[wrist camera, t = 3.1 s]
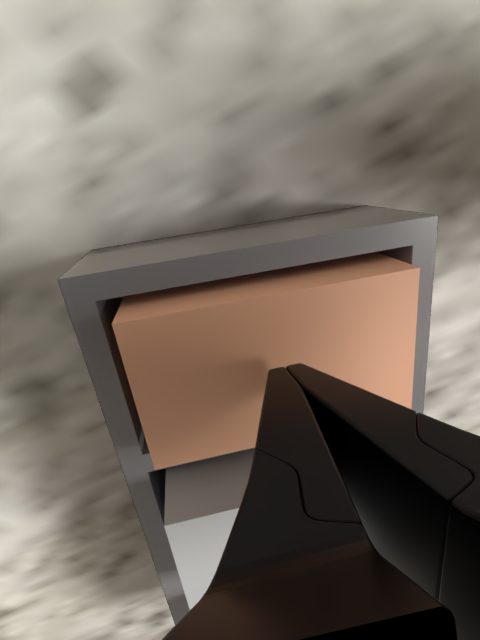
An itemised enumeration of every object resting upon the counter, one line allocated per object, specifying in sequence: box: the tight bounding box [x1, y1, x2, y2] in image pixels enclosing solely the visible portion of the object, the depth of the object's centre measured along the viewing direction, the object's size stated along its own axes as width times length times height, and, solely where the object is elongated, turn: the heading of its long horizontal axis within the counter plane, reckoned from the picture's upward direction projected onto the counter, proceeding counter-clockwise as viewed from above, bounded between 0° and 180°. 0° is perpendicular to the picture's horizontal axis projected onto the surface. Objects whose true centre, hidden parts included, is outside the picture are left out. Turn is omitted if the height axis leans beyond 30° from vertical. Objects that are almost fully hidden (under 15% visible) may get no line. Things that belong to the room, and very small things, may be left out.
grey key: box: [164, 448, 255, 610], centre depth 12 cm, size 4×8×3 cm, turn 98°
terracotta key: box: [112, 252, 420, 470], centre depth 11 cm, size 4×8×3 cm, turn 98°
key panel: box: [57, 205, 438, 626], centre depth 14 cm, size 18×10×4 cm, turn 8°
